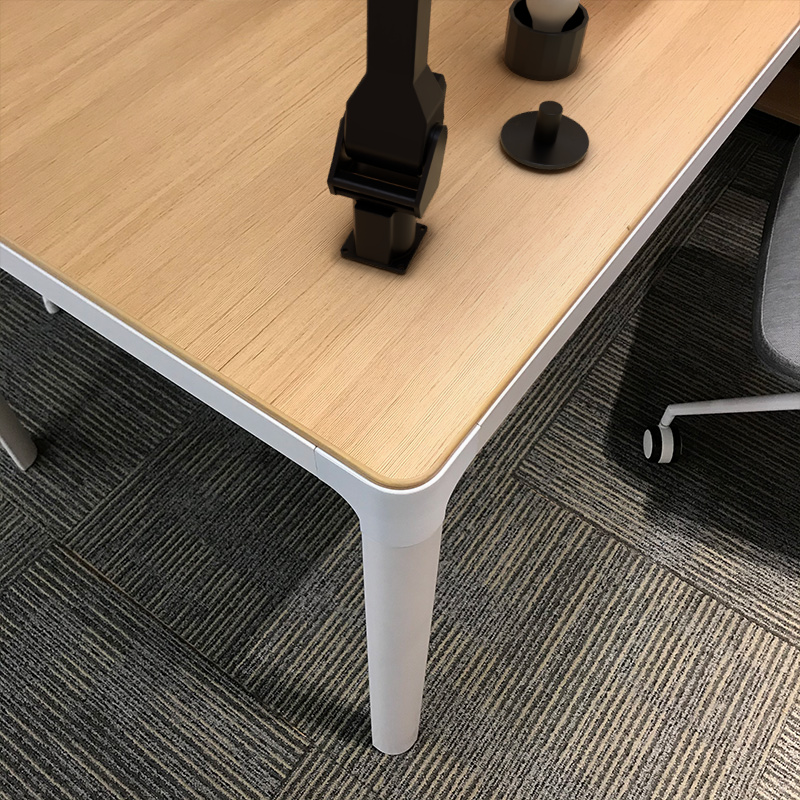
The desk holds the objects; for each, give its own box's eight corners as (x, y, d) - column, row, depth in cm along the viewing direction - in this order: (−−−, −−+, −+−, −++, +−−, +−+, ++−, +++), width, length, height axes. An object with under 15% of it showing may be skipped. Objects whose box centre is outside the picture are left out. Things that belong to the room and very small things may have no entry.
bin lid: (575, 183, 77) (585, 145, 74) (488, 160, 79) (493, 122, 75) (595, 131, 82) (606, 93, 79) (513, 111, 84) (519, 72, 80)
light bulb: (508, 46, 90) (521, -42, 82) (553, 38, 92) (570, -50, 83) (530, 74, 87) (546, -16, 79) (576, 64, 89) (596, -24, 80)
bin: (567, 88, 87) (578, 41, 82) (493, 70, 88) (499, 23, 84) (585, 48, 92) (596, 2, 87) (514, 32, 93) (521, -14, 89)
